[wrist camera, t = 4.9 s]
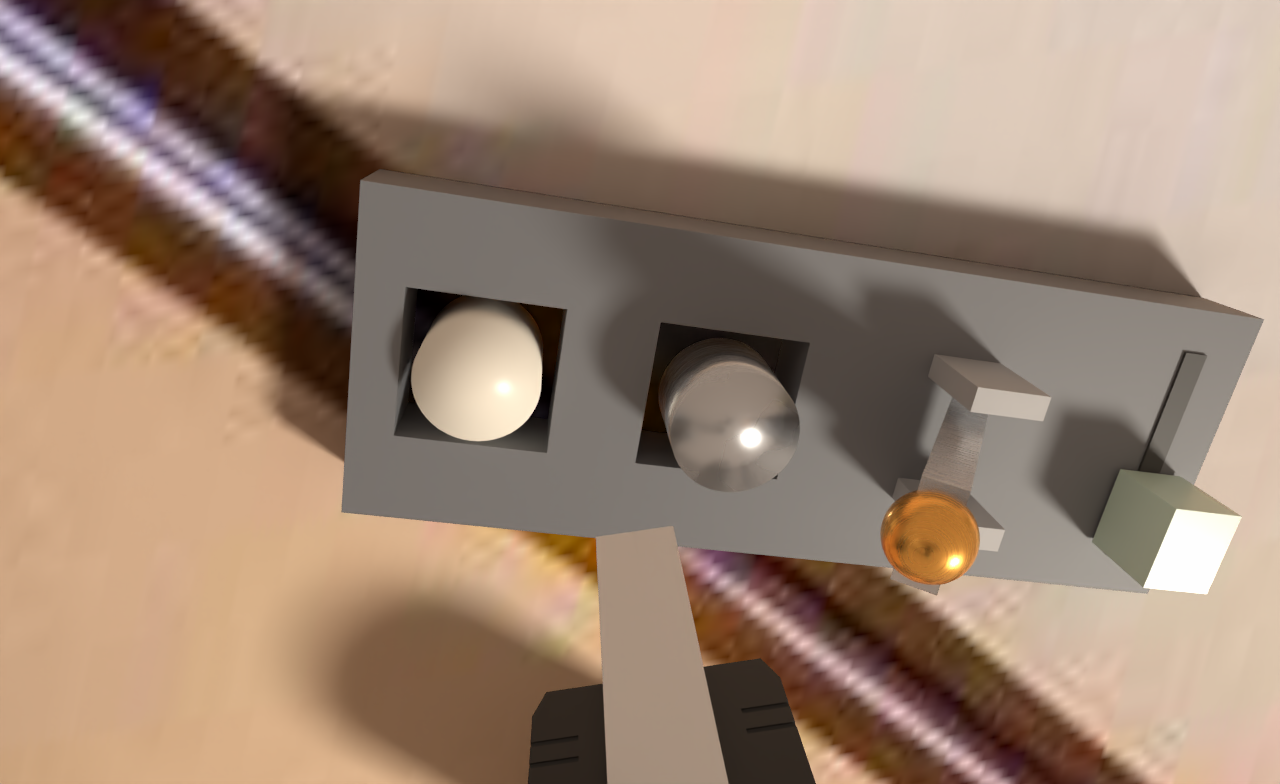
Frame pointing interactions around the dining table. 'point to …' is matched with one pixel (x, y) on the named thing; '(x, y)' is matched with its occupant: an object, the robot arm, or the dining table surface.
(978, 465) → the panel
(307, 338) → the dining table surface
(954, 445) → the lever
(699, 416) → the grey button
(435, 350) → the ivory button
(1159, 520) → the slider
